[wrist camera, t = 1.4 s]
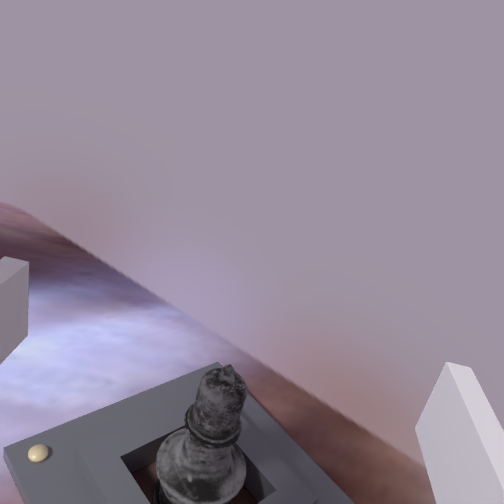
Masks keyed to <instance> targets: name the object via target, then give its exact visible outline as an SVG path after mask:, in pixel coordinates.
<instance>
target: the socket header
mask: <svg viewBox="0 0 504 504" xmlns="http://www.w3.org/2000/svg"><path fill="white" fill-rule="evenodd" d="M215 368H223V366H222V365H221V364H220V363H219V362H216V363H214V364H211V365H209V366H206V367H204V368H201V369H199V370H196V371H194V372H191V373H189V374H186V375H184V376H181V377H179V378H176V379H174V380H171V381H169V382H166V383H164V384H161V385H159V386H156V387H154V388H151V389H149V390H146V391H144V392H141V393H139V394H136V395H134V396H131V397H129V398H126V399H124V400H121V401H119V402H116V403H114V404H111V405H109V406H107V407H104V408H102V409H99V410H97V411H94V412H92V413H89V414H87V415H84V416H82V417H79V418H77V419H74V420H72V421H69V422H67V423H64V424H62V425H59V426H57V427H54V428H52V429H49V430H47V431H44V432H42V433H39V434H37V435H34V436H32V437H29V438H27V439H24V440H22V441H19V442H17V443H14V444H12V445H9V446H7V447H4V460H5V462H6V464H7V466H8V468H9V471H10V473H11V475H12V477H13V479H14V481H15V484H16V486H17V488H18V490H19V492H20V495H21V497H22V499H23V501H24V503H25V504H150V502H149V501H148V499H147V498H146V496H145V495H144V493H143V492H142V490H141V489H140V487H139V485H138V484H137V482H136V481H135V479H134V478H133V476H132V475H131V473H133V472H135V471H137V470H139V469H141V468H143V467H144V466H146V465H148V464H150V463H152V462H154V461H156V457H157V452H158V450H159V448H160V446H161V444H162V443H163V442H164V441H165V440H166V438H167V437H168V436H169V435H171V434H173V433H174V432H176V431H178V430H181V429H184V428H185V423H184V418H185V413H186V411H187V409H188V408H189V407H190V406H191V405H192V404H193V403H195V399H196V395H197V391H198V387H199V383H200V381H201V379H202V377H203V375H204V374H205V373H206V372H208V371H210V370H212V369H215ZM240 418H241V421H242V428H243V429H242V433H241V436H240V437H239V439H238V440H237V441H236V442H235V443H236V444H237V446H238V447H239V449H240V450H241V452H242V454H243V456H244V459H245V463H246V477H245V481H244V486H245V487H246V488H247V489H248V491H249V492H250V493H251V494H252V495H253V497H254V498H255V499H256V500H257V501H258V504H355V503H354V502H353V501H352V500H351V499H350V498H349V497H348V496H347V495H346V494H345V493H344V492H343V491H342V490H341V489H340V488H339V487H338V486H337V484H336V483H335V482H334V481H333V480H332V479H331V478H330V477H329V476H328V475H327V474H326V473H325V472H324V471H323V470H322V469H321V468H320V467H319V466H318V465H317V464H316V463H315V462H314V461H313V460H312V459H311V458H310V457H309V456H308V454H307V453H306V452H305V451H304V450H303V449H302V448H301V447H300V446H299V445H298V444H297V443H296V442H295V441H294V440H293V439H292V438H291V437H290V436H289V435H288V434H287V433H286V432H285V431H284V430H283V429H282V428H281V427H280V425H279V424H278V423H277V422H276V421H275V420H274V419H273V418H272V417H271V416H270V415H269V414H268V413H267V412H266V411H265V410H264V409H263V408H262V407H261V406H260V405H259V404H258V403H257V402H256V401H255V400H254V399H253V398H252V397H251V395H250V394H249V393H248V392H247V396H246V399H245V403H244V406H243V409H242V412H241V415H240Z"/></svg>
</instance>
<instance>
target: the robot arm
mask: <svg viewBox="0 0 504 504" xmlns="http://www.w3.org/2000/svg"><path fill="white" fill-rule="evenodd" d="M28 295H29V262H27V261H23V260H19V259H15V258H10V257H6V256H4V257H3V258H2V259H0V364H1V363H2V362H3V361H4V360H5V359H6V358H7V357H8V356H9V355H10V353H11V352H12V351H13V350H14V349H15V348H16V347H17V346H18V345H19V344H20V343H21V342H22V341H23V340H24V339H25V338H26V337H27V335H28ZM415 430H416V434H417V438H418V441H419V445H420V448H421V452H422V455H423V458H424V462H425V465H426V469H427V472H428V476H429V479H430V483H431V486H432V490H433V493H434V497H435V500H436V504H504V431H503V429H502V427H501V426H500V424H499V422H498V420H497V418H496V416H495V414H494V412H493V410H492V408H491V406H490V404H489V402H488V400H487V398H486V396H485V394H484V392H483V390H482V389H481V387H480V385H479V383H478V381H477V379H476V377H475V375H474V373H473V371H472V369H471V368H470V367H466V366H462V365H457V364H453V363H449V362H446V364H445V366H444V368H443V370H442V372H441V374H440V377H439V378H438V381H437V383H436V385H435V387H434V389H433V391H432V393H431V395H430V397H429V400H428V402H427V404H426V406H425V408H424V410H423V412H422V414H421V416H420V418H419V420H418V423H417V425H416V427H415Z"/></svg>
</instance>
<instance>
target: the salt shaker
mask: <svg viewBox="0 0 504 504" xmlns="http://www.w3.org/2000/svg"><path fill="white" fill-rule="evenodd" d="M246 396H247V386H246V384H245V382H244V380H243V379H242V377H241V376H240V375H239V374H238V373H236V372H235V371H234V369H233V367H232V366H231V365H230V364H229V365H227V366H225V367H223V368H215V369H212V370H210V371H208V372H206V373H205V374H204V375H203V377H202V379H201V381H200V383H199V387H198V391H197V395H196V399H195V403H193V404H192V405H191V406H190V407H189V408H188V409H187V411H186V413H185V418H184V423H185V428H184V429H181V430H178V431H176V432H174V433H173V434H171V435H169V436H168V437H167V438H166V440H165V441H164V442H163V443H162V444H161V446H160V448H159V450H158V452H157V457H156V463H155V465H156V472H157V476H158V478H159V479H158V480H157V483H156V485H155V487H154V492H153V504H230V500H231V499H232V498H234V497H235V496H236V495H237V494H238V493H239V491H240V489H241V488H242V486H243V484H244V481H245V477H246V463H245V459H244V456H243V454H242V452H241V450H240V449H239V447H238V446H237V444H236V443H235V442H236V441H237V440H238V439H239V437H240V436H241V433H242V429H243V428H242V421H241V418H240V415H241V412H242V409H243V406H244V403H245V399H246Z"/></svg>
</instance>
